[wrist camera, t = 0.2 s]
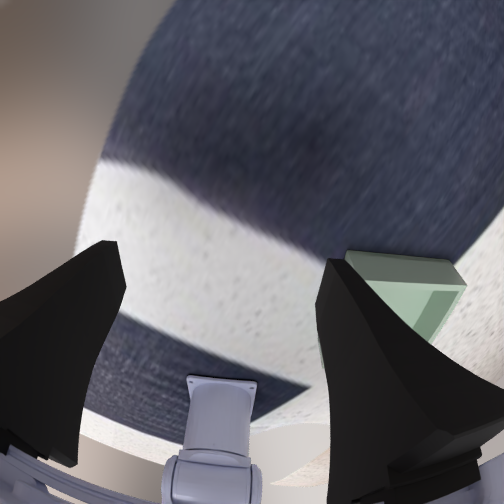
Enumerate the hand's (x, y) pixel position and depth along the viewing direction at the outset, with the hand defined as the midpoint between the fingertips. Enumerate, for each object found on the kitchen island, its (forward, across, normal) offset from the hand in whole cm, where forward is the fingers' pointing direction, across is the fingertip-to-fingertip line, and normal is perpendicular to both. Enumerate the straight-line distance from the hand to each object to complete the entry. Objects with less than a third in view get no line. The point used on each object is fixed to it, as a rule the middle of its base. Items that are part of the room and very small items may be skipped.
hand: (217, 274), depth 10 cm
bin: (+10, -13, +10) cm, 19 cm away
